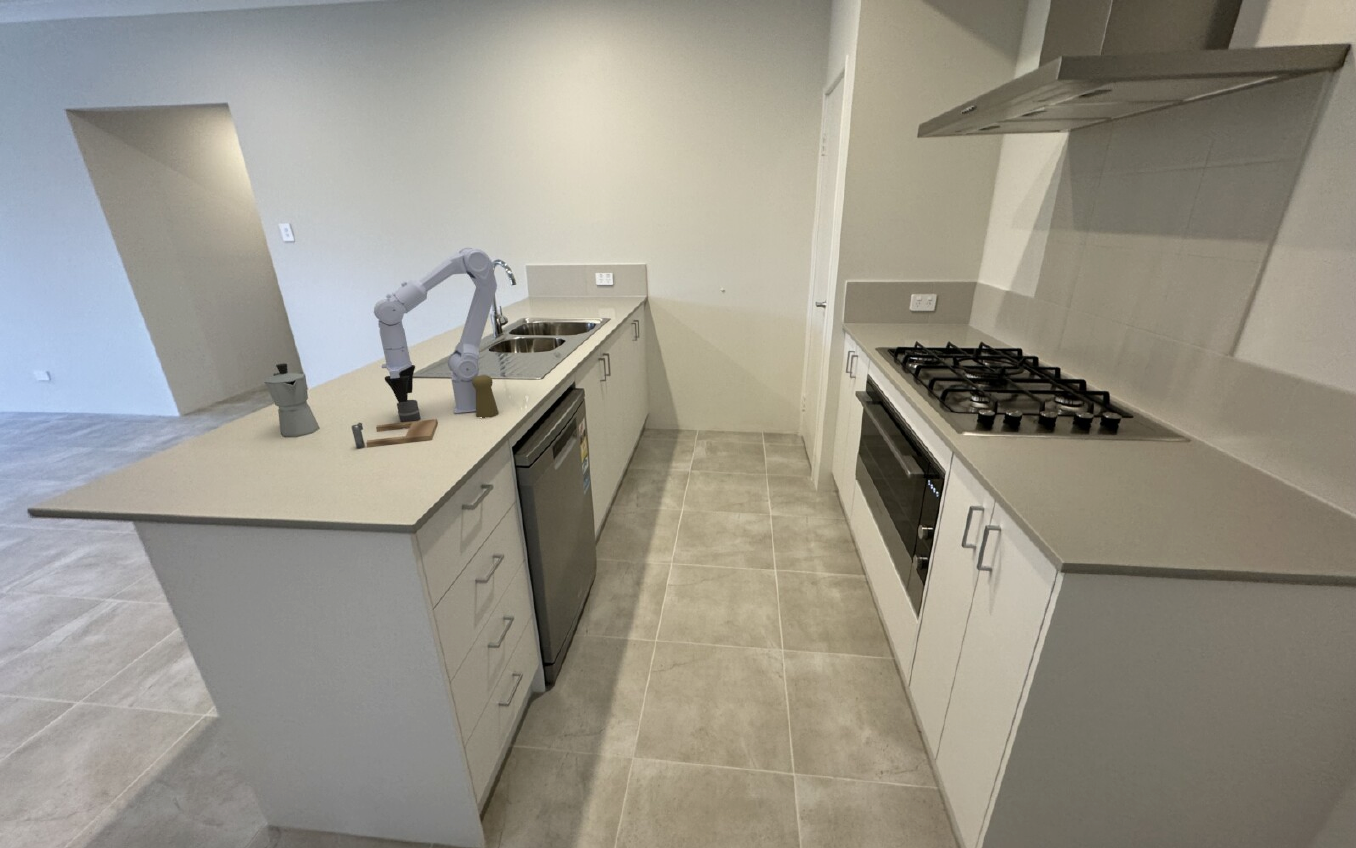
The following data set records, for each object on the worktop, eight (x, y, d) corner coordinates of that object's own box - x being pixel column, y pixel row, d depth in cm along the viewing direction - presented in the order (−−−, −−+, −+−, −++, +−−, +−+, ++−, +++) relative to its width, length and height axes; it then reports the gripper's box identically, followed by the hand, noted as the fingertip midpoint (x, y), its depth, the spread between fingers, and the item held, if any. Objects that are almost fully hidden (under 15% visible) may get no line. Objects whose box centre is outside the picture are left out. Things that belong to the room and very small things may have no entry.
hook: (368, 440, 136) (363, 420, 134) (364, 448, 132) (358, 426, 130) (360, 441, 136) (355, 420, 134) (355, 449, 132) (350, 427, 130)
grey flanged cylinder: (422, 415, 153) (418, 398, 151) (419, 422, 148) (415, 404, 146) (401, 417, 151) (398, 400, 150) (398, 424, 147) (394, 406, 145)
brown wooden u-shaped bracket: (437, 423, 147) (437, 418, 147) (431, 439, 136) (430, 435, 136) (378, 429, 143) (377, 425, 143) (367, 447, 133) (366, 442, 132)
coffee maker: (327, 432, 142) (309, 364, 136) (287, 442, 136) (266, 372, 130) (309, 419, 152) (292, 355, 145) (272, 428, 146) (251, 361, 139)
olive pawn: (503, 412, 154) (498, 374, 150) (488, 419, 149) (482, 380, 145) (486, 409, 156) (481, 372, 152) (471, 416, 151) (464, 377, 147)
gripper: (384, 342, 148) (394, 390, 153) (371, 354, 135) (383, 407, 140) (412, 340, 150) (421, 388, 155) (403, 352, 137) (413, 404, 141)
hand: (405, 397), depth 147 cm, fingers open, 7 cm apart
